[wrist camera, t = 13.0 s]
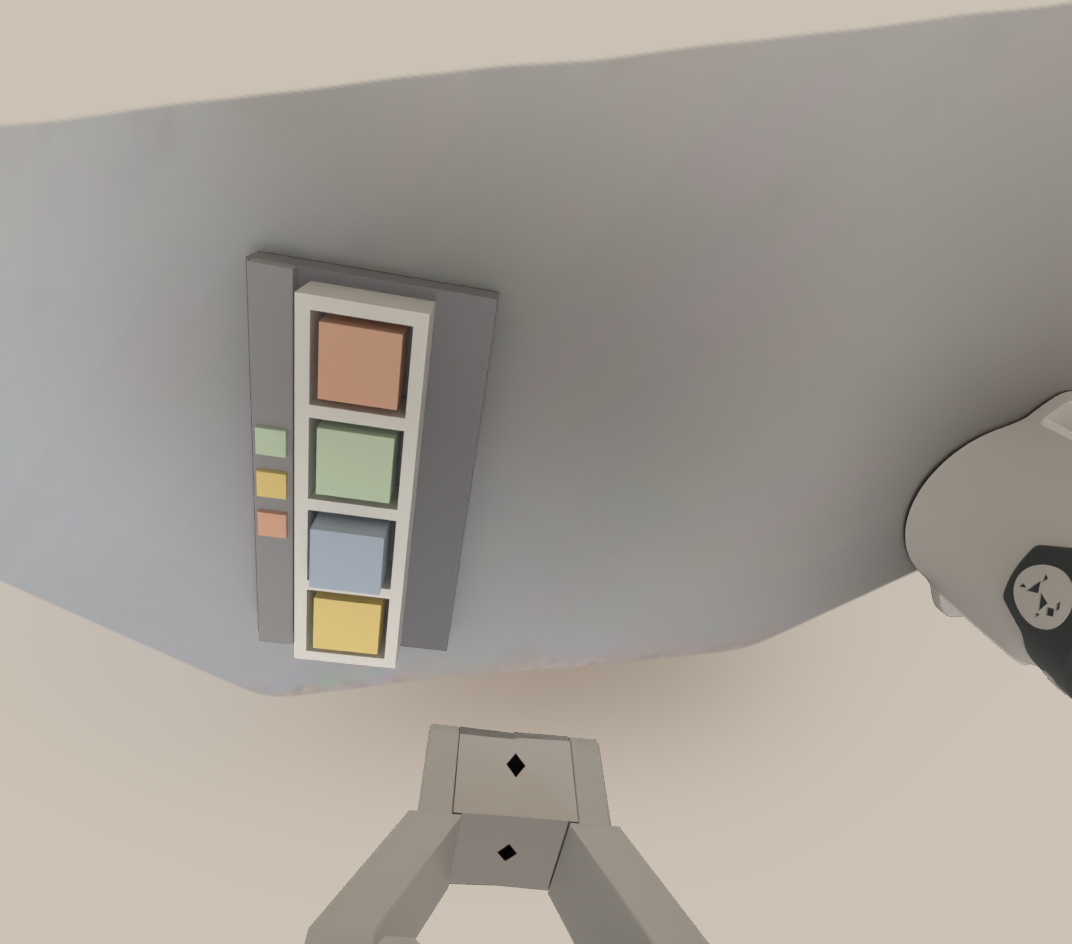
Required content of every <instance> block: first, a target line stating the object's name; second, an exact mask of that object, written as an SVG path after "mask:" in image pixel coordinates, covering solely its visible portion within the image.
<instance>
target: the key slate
mask: <svg viewBox="0 0 1072 944" xmlns="http://www.w3.org/2000/svg"><path fill="white" fill-rule="evenodd" d="M390 522H391V520H384V519H376V518H368V517H361V516H353V515H345V514H337V513H329V512H322V511H319V513H318V515H317V517H316V519H315V520H314V522H313V524H312V526H311V528H310V566H309V587H313V588H321V589H330V590H339V591H347V592H356V593H365V594H373V595H380V592H381V589H382V585H383V582H384V578H385V575H386V571H387V559H388V547H389V534H390Z"/></svg>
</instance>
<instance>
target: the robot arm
mask: <svg viewBox="0 0 1072 944" xmlns="http://www.w3.org/2000/svg"><path fill="white" fill-rule="evenodd" d="M905 541H906V548H907V552H908V554H909V557H910V559H911V561H912V563H913V564H914V566H915V567H916V568H917V570H918V571H919V572H920V573H921V574H922V575H923V576H924V577H925V578H926V579H927V580H928V582H929V583H930V586H931V593H932V598H933V602H934V604H935V606H936V607H937V608H938V609H939V610H940V611H941V612H943V613H944V614H945V615H947V616H950V617H965V618H966V619H968V620H969V621H970V622H971V623H972V624H973V625H974V626H975V627H977V628H978V629H979V630H980V631H981V632H982V633H983V634H985V635H986V636H987V637H988V638H989V639H990V640H992V641H993V642H994V643H995V644H996V645H997V646H998V647H1000V648H1001V649H1002V650H1003V651H1004V652H1005V653H1006V654H1008V655H1009V656H1010V657H1011V658H1012V659H1014V660H1015V661H1017V662H1019V663H1021V664H1023V665H1028V664H1032V665H1037V666H1038V667H1039V668H1040V669H1041V670H1042V671H1043V673H1044V674H1045V675H1046V676H1047V677H1048V679H1049V680H1050V681H1051V682H1052V683H1053V684H1054V685H1055V686H1056V687H1057V688H1058V689H1059V690H1061V691H1062V692H1063V693H1064V694H1066V695H1068V696H1070V697H1071V698H1072V391H1068V392H1064V393H1062V394H1060V395H1058V396H1056V397H1054V398H1052V399H1051V400H1049V401H1048V402H1046V403H1045V404H1044V405H1042V406H1041V407H1040V408H1038V409H1037V410H1035V411H1034V412H1033V413H1032V414H1030V415H1029V416H1028V417H1026V418H1024V419H1022V420H1020V421H1018V422H1016V423H1014V424H1011V425H1008V426H1006V427H1003V428H1000V429H998V430H995V431H992V432H990V433H988V434H986V435H984V436H982V437H979V438H978V439H976V440H974V441H972V442H971V443H969V444H967V445H966V446H964V447H963V448H961V449H960V450H958V451H957V452H956V453H954V454H953V455H952V456H951V457H949V458H948V459H947V460H946V461H945V462H944V463H943V464H942V465H940V466H939V467H938V468H937V469H936V471H935V472H934V473H933V474H932V475H931V476H930V477H929V479H928V480H927V481H926V482H925V484H924V485H923V487H922V488H921V490H920V491H919V493H918V495H917V496H916V498H915V500H914V502H913V504H912V507H911V509H910V512H909V515H908V519H907V523H906V530H905ZM449 884H467V885H496V886H507V887H518V888H528V889H539V890H549V892H548V894H549V896H550V898H551V900H552V902H553V904H554V906H555V907H556V910H557V911H558V913H559V915H560V917H561V919H562V921H563V923H564V925H565V927H566V928H567V930H568V932H569V934H570V936H571V938H572V940H573V942H574V944H709V943H708V942H707V940H706V939H705V938H704V937H703V935H702V934H701V933H700V931H699V930H698V929H697V927H696V926H695V925H694V924H693V922H692V921H691V920H690V918H689V917H688V916H687V914H686V913H685V912H684V911H683V909H682V908H681V907H680V905H679V904H678V903H677V901H676V900H675V899H674V898H673V896H672V895H671V894H670V893H669V891H668V890H667V888H666V887H665V886H664V884H663V883H662V882H661V881H660V879H659V878H658V877H657V875H656V874H655V873H654V871H653V870H652V869H651V868H650V866H649V865H648V864H647V862H646V861H645V860H644V858H643V857H642V856H641V854H640V853H639V852H638V851H637V849H636V848H635V847H634V845H633V844H632V843H631V841H630V840H629V839H628V837H627V836H626V835H625V834H624V832H623V831H622V830H621V828H620V827H615V826H611V822H610V816H609V809H608V802H607V795H606V789H605V782H604V775H603V769H602V763H601V756H600V750H599V744H598V743H597V741H596V740H594V739H583V738H573V737H569V738H568V737H567V736H555V735H542V734H530V733H517V732H514V733H508V732H499V731H490V730H483V729H474V728H466V727H460V728H459V727H457V726H456V727H455V726H447V725H437V724H431V726H430V730H429V735H428V742H427V750H426V757H425V763H424V771H423V778H422V785H421V792H420V800H419V806H418V811H408V813H407V814H406V815H405V816H404V817H403V818H402V820H401V821H400V822H399V823H398V824H397V825H396V827H395V828H394V829H393V830H392V831H391V832H390V834H389V835H388V836H387V837H386V838H385V839H384V841H383V842H382V843H381V844H380V845H379V846H378V848H377V849H376V850H375V851H374V852H373V854H372V855H371V856H370V857H369V858H368V859H367V861H366V862H365V863H364V864H363V865H362V866H361V868H360V869H359V870H358V871H357V872H356V873H355V875H354V876H353V877H352V878H351V879H350V881H349V882H348V883H347V884H346V885H345V886H344V887H343V889H342V890H341V891H340V892H339V893H338V895H337V896H336V897H335V898H334V899H333V900H332V902H331V903H330V904H329V905H328V906H327V907H326V909H325V910H324V911H323V912H322V913H321V915H320V916H319V917H318V918H317V919H316V920H315V921H314V923H313V924H312V925H311V926H310V927H309V929H308V933H307V937H306V941H305V944H419V943H418V942H417V940H416V937H417V936H418V934H419V933H420V931H421V929H422V928H423V926H424V925H425V923H426V921H427V920H428V918H429V917H430V915H431V914H432V912H433V911H434V909H435V907H436V906H437V904H438V903H439V901H440V900H441V898H442V897H443V895H444V893H445V892H446V890H447V889H448V886H449Z"/></svg>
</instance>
